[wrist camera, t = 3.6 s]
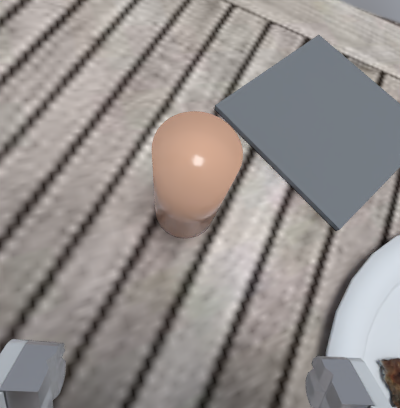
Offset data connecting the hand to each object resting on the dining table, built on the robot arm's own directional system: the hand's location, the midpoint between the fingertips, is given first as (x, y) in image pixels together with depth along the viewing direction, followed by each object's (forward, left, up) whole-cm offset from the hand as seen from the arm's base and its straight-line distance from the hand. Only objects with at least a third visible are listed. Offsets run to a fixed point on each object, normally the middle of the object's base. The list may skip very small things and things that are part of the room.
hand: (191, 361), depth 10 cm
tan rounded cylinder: (-7, +7, -13) cm, 17 cm away
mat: (-5, +24, -13) cm, 28 cm away
